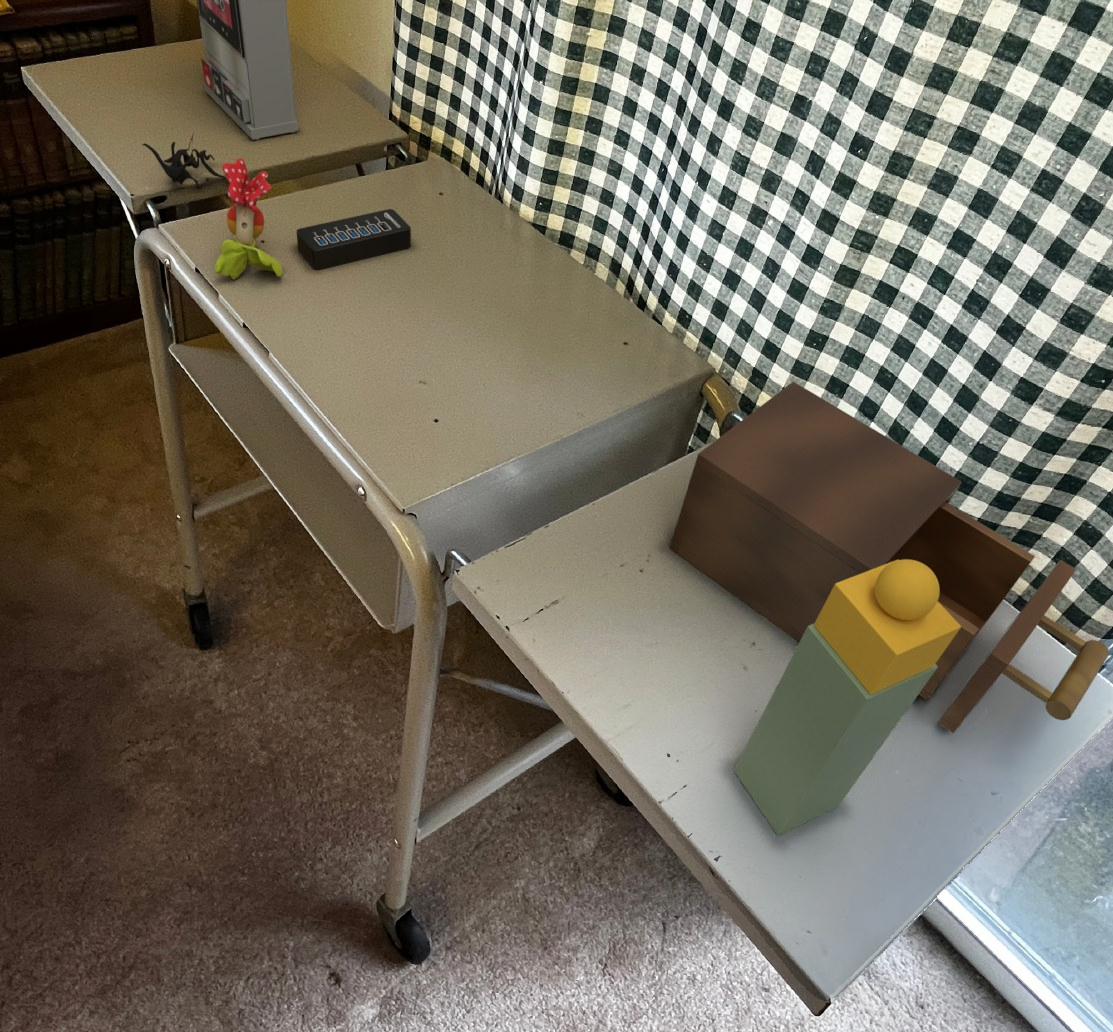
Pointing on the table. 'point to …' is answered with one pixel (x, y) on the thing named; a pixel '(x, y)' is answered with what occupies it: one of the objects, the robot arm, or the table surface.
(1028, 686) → the drawer
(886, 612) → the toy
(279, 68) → the cassette tape recorder
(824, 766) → the green rectangular block
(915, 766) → the table surface
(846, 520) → the cabinet
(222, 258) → the multicoloured upright piece
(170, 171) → the creature
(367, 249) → the multiport hub
